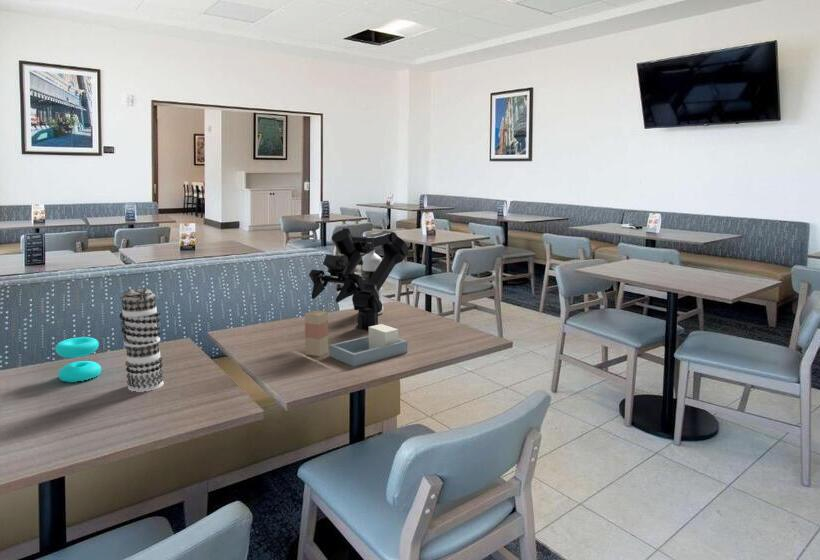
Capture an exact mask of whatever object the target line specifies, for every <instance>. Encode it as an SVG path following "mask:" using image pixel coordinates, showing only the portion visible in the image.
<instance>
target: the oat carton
mask: <svg viewBox="0 0 820 560" xmlns="http://www.w3.org/2000/svg"><path fill="white" fill-rule="evenodd" d="M328 315H329V313H328V311H327V310H326V311H325V310H316V309H314V310H311V311H309V312H305V313H304V321H305V322H304V331H305V332H304V333H305V337H304V338H305V355H306V357H311V356H316V357H321V356H323V355H325V354H327V353H330V352H329V320H328V319H329V316H328Z"/></svg>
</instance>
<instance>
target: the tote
mask: <svg viewBox="0 0 820 560" xmlns="http://www.w3.org/2000/svg"><path fill="white" fill-rule="evenodd" d="M328 351H329V352H328V353H329V357H331V358H333V359H335V360H337V361H340V362H342V363H344V364H347V365H348V366H351V367H358V366H361V365H365V364H369V363H372V362H375V361H376V362H377V361H379V360H383V359H387V358H388V359H389V358H391V357H394V356H398V355H402V354H405V353H408V340H406V339H405V340H404V339H403V338H399V337H398V342H397V343H393V344H389V345H385V346H381V347H377V348H373V349H369V335H367V336H363V337H362V336H361V337H358V338H354V339H350V340H345V341H340V342H336V343H332V344H328Z"/></svg>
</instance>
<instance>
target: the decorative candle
mask: <svg viewBox="0 0 820 560" xmlns="http://www.w3.org/2000/svg"><path fill="white" fill-rule="evenodd" d="M156 296H157V295H156V294H155V293H153V291H152V290H151V289H148V288H140V287H139V288H131V289H128V290H126V291H124V293H123V295H122V296H121V297H120V299H121V302H122V303H121V304H122V305H121V306H122V309H121V313H120V314H119V316H118V317H119V318H120V320H121V322H120V327H121V332H122V334H123V335H122V340H123V345H124V346H125V348H126V349H125V350H126V357H125V358H126V361H125V366H126V368H125V370H126V372H127V374H126V375H125V377H126V379H127V381H126V384H127V385H128V387H127V390H128V389H129V390H128V391H130V390H131V391H130V392H133V391H136V392H135V393H144V391H146V392H151V390H152V391H154V390H158V389H160V388H162V387H163V386H164V384H165V383H164V369H162V368H163V363H162V361H163V358H162V356H161V350H160V345H159V344H160V342H161V337H160V335H161V333H162V332H160V331H159V330H160V329H161V325H159V324H157V323H158V322H160V321H161V318H159V316H161V312H159V311H158V310H157V305H156Z"/></svg>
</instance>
